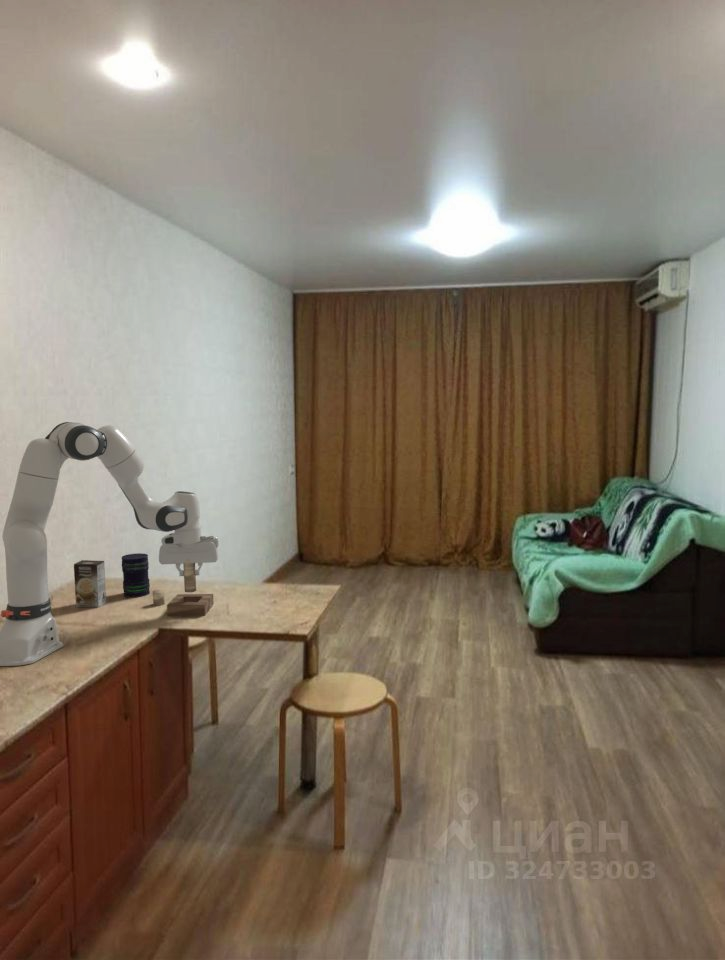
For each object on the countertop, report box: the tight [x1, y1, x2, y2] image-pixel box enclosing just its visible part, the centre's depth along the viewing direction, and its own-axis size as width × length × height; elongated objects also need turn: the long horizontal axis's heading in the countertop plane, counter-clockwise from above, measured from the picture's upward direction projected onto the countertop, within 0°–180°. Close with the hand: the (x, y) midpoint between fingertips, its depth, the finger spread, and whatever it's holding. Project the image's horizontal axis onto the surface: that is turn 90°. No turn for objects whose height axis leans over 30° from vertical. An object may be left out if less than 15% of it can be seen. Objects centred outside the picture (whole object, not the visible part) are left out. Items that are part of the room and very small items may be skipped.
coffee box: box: [73, 559, 107, 608], centre depth 251 cm, size 9×6×16 cm
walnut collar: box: [166, 593, 215, 617], centre depth 243 cm, size 13×13×4 cm
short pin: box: [152, 588, 166, 607], centre depth 251 cm, size 4×4×5 cm
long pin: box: [182, 559, 197, 593], centre depth 242 cm, size 4×4×12 cm
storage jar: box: [121, 552, 151, 598], centre depth 265 cm, size 10×10×15 cm
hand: (189, 575), depth 242 cm, fingers closed on long pin, 4 cm apart
